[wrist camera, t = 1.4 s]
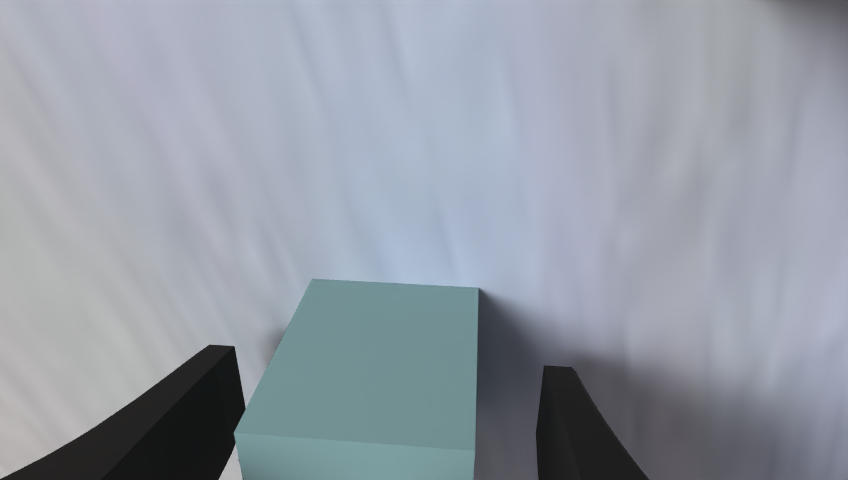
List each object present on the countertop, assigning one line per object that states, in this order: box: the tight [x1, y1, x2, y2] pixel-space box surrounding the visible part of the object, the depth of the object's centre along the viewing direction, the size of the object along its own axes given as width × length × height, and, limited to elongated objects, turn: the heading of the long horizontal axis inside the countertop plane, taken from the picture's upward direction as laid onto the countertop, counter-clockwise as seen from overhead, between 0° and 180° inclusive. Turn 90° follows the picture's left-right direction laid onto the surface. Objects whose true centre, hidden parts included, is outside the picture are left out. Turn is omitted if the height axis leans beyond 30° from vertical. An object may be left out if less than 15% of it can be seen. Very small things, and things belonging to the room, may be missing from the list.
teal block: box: [234, 279, 479, 480], centre depth 13 cm, size 4×4×5 cm
